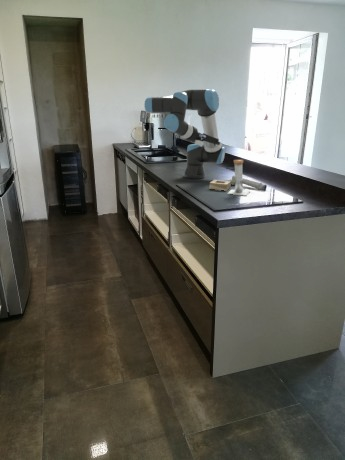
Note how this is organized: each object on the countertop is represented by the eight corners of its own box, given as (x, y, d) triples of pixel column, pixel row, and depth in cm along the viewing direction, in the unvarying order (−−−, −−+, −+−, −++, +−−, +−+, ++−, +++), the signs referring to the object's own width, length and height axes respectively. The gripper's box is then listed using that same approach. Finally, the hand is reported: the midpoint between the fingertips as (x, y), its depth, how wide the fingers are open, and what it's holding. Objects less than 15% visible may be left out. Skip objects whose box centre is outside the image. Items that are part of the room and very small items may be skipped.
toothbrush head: (263, 185, 208) (229, 173, 223) (261, 195, 211) (227, 183, 226) (268, 183, 212) (234, 172, 226) (265, 194, 214) (232, 182, 229)
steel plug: (235, 190, 206) (234, 160, 202) (244, 190, 204) (244, 159, 200) (233, 192, 201) (232, 160, 197) (242, 192, 199) (242, 160, 195)
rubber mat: (231, 190, 209) (231, 189, 209) (249, 192, 206) (249, 191, 206) (227, 194, 200) (227, 193, 200) (246, 196, 196) (246, 195, 196)
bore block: (213, 186, 220) (214, 179, 219) (230, 187, 217) (230, 181, 215) (209, 189, 211) (209, 182, 210) (226, 191, 207) (227, 184, 206)
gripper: (169, 137, 188) (193, 149, 204) (204, 140, 172) (227, 153, 187) (172, 124, 188) (196, 137, 204) (208, 125, 171) (231, 139, 187)
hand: (211, 145), depth 196 cm, fingers open, 13 cm apart
